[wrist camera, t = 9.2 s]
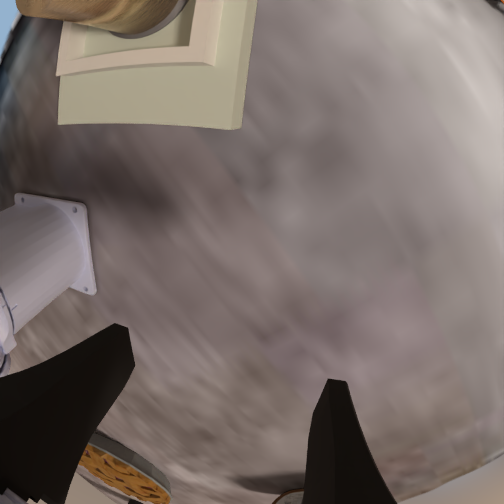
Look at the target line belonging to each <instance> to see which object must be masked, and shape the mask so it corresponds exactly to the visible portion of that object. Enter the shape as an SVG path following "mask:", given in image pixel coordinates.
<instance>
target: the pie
mask: <svg viewBox="0 0 504 504" xmlns="http://www.w3.org/2000/svg"><path fill="white" fill-rule="evenodd" d="M79 465H82V466H84V467H85V468H86V469H88V471H89V472H90V473H91V474H93V475H94V476H96V477H98V478H100V479H101V480H103V481H104V483H106V484H108V485H109V486H111V487H115V488H117V489H119V490H121V491H122V492H124V493H125V494H127V495H129V496H130V495H132V496H135V497H137V498H138V499H139V500H142V501H150V502H152V503H154V504H161V503H162V504H168V503H169V502H171V501H172V499H173V497H172V495H171V490H170V483H169V481H168V479H167V478H166V476H165V475H164V474H163V473H162V472H161V471H160V470H158V469H157V468H156V467H155V466H154V465H153V464H152V463H150V462H149V461H147V460H146V459H144V458H143V457H141V456H140V455H139V454H137V453H136V452H134V451H132V450H130V449H128V448H126V447H124V446H122V445H121V444H119V443H117V442H115V441H112V440H110V439H108V438H106V437H103V436H101V435H99V434H96V433H93V435H92V436H91V438H90V440H89V442H88V444H87V446H86V448H85V450H84V452H83V455H82V457H81V459H80V461H79Z"/></svg>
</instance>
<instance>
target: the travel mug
mask: <svg viewBox="0 0 504 504" xmlns="http://www.w3.org/2000/svg"><path fill="white" fill-rule="evenodd" d="M128 504H143V503H141V502H138V501H136V500H132V499H130V501H129V502H128Z"/></svg>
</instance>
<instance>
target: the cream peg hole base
mask: <svg viewBox="0 0 504 504" xmlns="http://www.w3.org/2000/svg"><path fill="white" fill-rule="evenodd" d="M257 1H258V0H178V2H177V4H176V6H175V7H174V9H173V10H172V11H171V13H170V14H169V15H168V16H167V17H166V18H165V19H164V20H163V21H162V22H160V23H159V24H158V25H156V26H155V27H153V28H151V29H150V30H147V31H145V32H142V33H139V34H133V35H127V34H122V33H118V32H114V31H110V30H106V29H101V28H97V27H92V26H88V25H83V24H78V23H73V22H67V21H64V22H63V28H62V33H61V40H60V47H59V54H58V62H57V72H56V76H61V77H60V90H59V107H58V125H63V124H89V123H135V124H163V125H180V126H194V127H206V128H217V129H227V130H233V129H239V128H241V124H242V116H243V107H244V99H245V91H246V83H247V75H248V67H249V59H250V52H251V44H252V37H253V30H254V22H255V15H256V8H257Z"/></svg>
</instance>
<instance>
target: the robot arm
mask: <svg viewBox="0 0 504 504" xmlns="http://www.w3.org/2000/svg"><path fill="white" fill-rule="evenodd" d="M14 199H15V205H13V206H11V207H9V208H7V209H5V210H3V211H1V212H0V504H28V503H26V502H27V501H28V499H29V498H30V499H32V500H33V501H34V502H36V503H38V501H39V500H40V499H42V500H43V501H44V502H46V503H47V504H64V503H65V500H66V497H67V494H68V490H69V487H70V484H71V481H72V479H73V476H74V473H75V471H76V468H77V466H78V464H79V461H80V459H81V457H82V455H83V452H84V450H85V448H86V446H87V444H88V442H89V440H90V438H91V436H92V435H93V433H94V431H95V430H96V428H97V426H98V425H99V423H100V422H101V421H102V419H103V418H104V416H105V415H106V413H107V412H108V410H109V409H110V407H111V406H112V405H113V403H114V402H115V400H116V399H117V397H118V396H119V394H120V393H121V391H122V390H123V388H124V387H125V385H126V383H127V381H128V379H129V377H130V375H131V373H132V371H133V369H134V367H135V362H134V357H133V352H132V347H131V341H130V336H129V330H128V328H127V327H124V326H121V325H119V324H116V323H114V324H112V325H110V326H109V327H107V328H105V329H103V330H101V331H100V332H98V333H96V334H95V335H93V336H91V337H89V338H88V339H86V340H84V341H82V342H81V343H79V344H77V345H75V346H73V347H72V348H70V349H68V350H66V351H64V352H62V353H60V354H58V355H56V356H54V357H52V358H50V359H48V360H47V361H44V362H42V363H40V364H38V365H35V366H33V367H30V368H28V369H25V370H23V371H20V372H17V373H13V374H10V375H8V373H9V369H10V365H11V358H10V354H9V352H10V351H11V350H12V349H13V348H14V347H15V346H16V345H17V344H16V342H15V339H14V336H13V335H14V334H15V333H16V332H18V331H19V330H20V329H21V328H22V327H23V326H24V325H25V324H26V323H27V322H29V321H30V320H31V319H32V318H33V317H34V316H35V315H37V314H38V313H39V312H40V311H41V310H42V309H43V308H45V307H46V306H47V305H48V304H49V303H50V302H52V301H53V300H54V299H55V298H56V297H58V296H59V295H60V294H61V293H62V292H64V291H65V290H66V289H67V288H68V287H70V288H73V289H76V290H78V291H81V292H84V293H86V294H89V295H94V294H96V292H97V289H96V283H95V277H94V270H93V263H92V256H91V248H90V239H89V229H88V219H87V209H86V206H85V205H84V204H83V203H79V202H74V201H68V200H62V199H56V198H50V197H44V196H38V195H31V194H25V193H16V194H15V197H14ZM76 209H77V210H76ZM302 504H397V502H396V501H395V499H394V498H393V496H392V494H391V492H390V491H389V489H388V487H387V486H386V484H385V482H384V480H383V478H382V476H381V474H380V472H379V470H378V468H377V466H376V464H375V462H374V459H373V457H372V455H371V452H370V450H369V448H368V445H367V443H366V440H365V437H364V435H363V432H362V429H361V427H360V424H359V421H358V418H357V415H356V412H355V409H354V405H353V402H352V399H351V395H350V391H349V388H348V384H347V382H346V381H341V380H334V379H328V380H327V382H326V385H325V387H324V389H323V392H322V394H321V396H320V398H319V401H318V403H317V405H316V407H315V410H314V412H313V416H312V421H311V427H310V432H309V438H308V450H307V462H306V474H305V485H304V494H303V500H302Z"/></svg>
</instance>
